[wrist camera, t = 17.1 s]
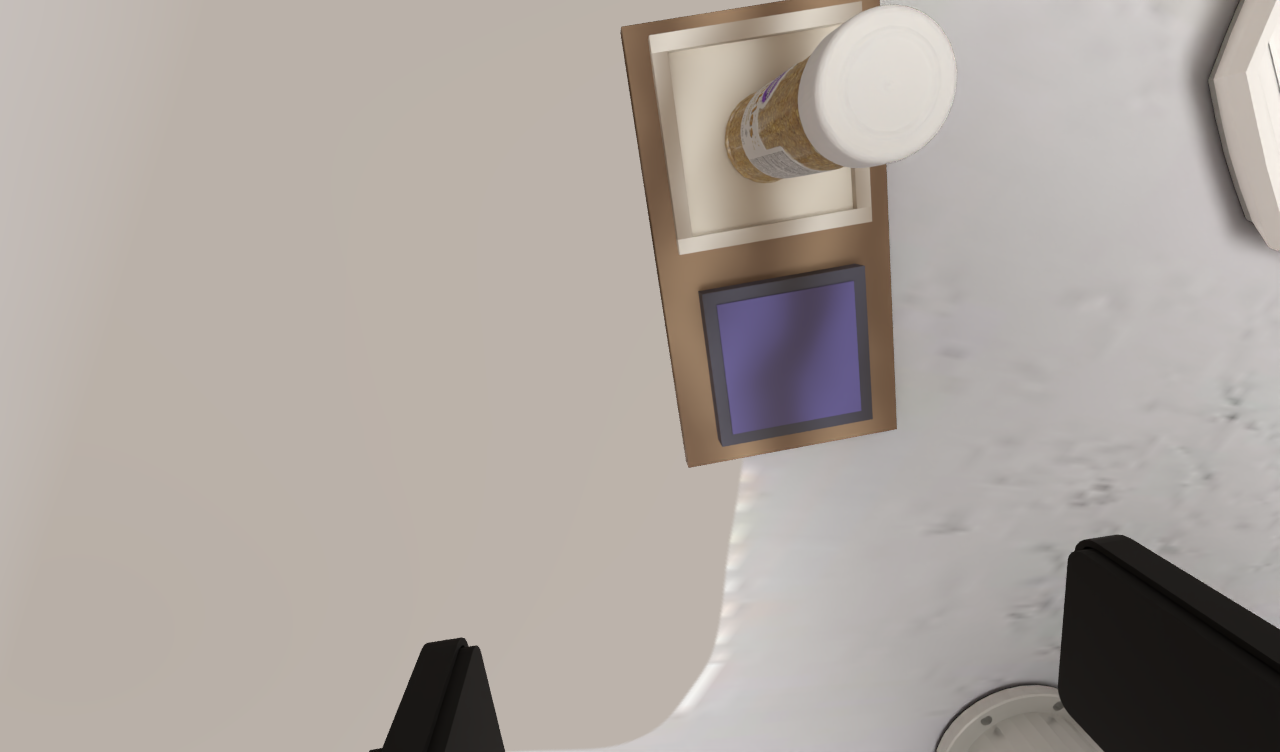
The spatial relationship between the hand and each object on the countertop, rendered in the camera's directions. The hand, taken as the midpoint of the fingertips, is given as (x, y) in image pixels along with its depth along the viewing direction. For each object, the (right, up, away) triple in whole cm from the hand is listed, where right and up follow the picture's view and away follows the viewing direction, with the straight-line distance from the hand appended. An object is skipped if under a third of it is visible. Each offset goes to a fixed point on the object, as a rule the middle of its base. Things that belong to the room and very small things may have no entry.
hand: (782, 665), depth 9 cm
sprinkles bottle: (+4, +17, +22) cm, 28 cm away
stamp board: (+5, +12, +24) cm, 28 cm away
